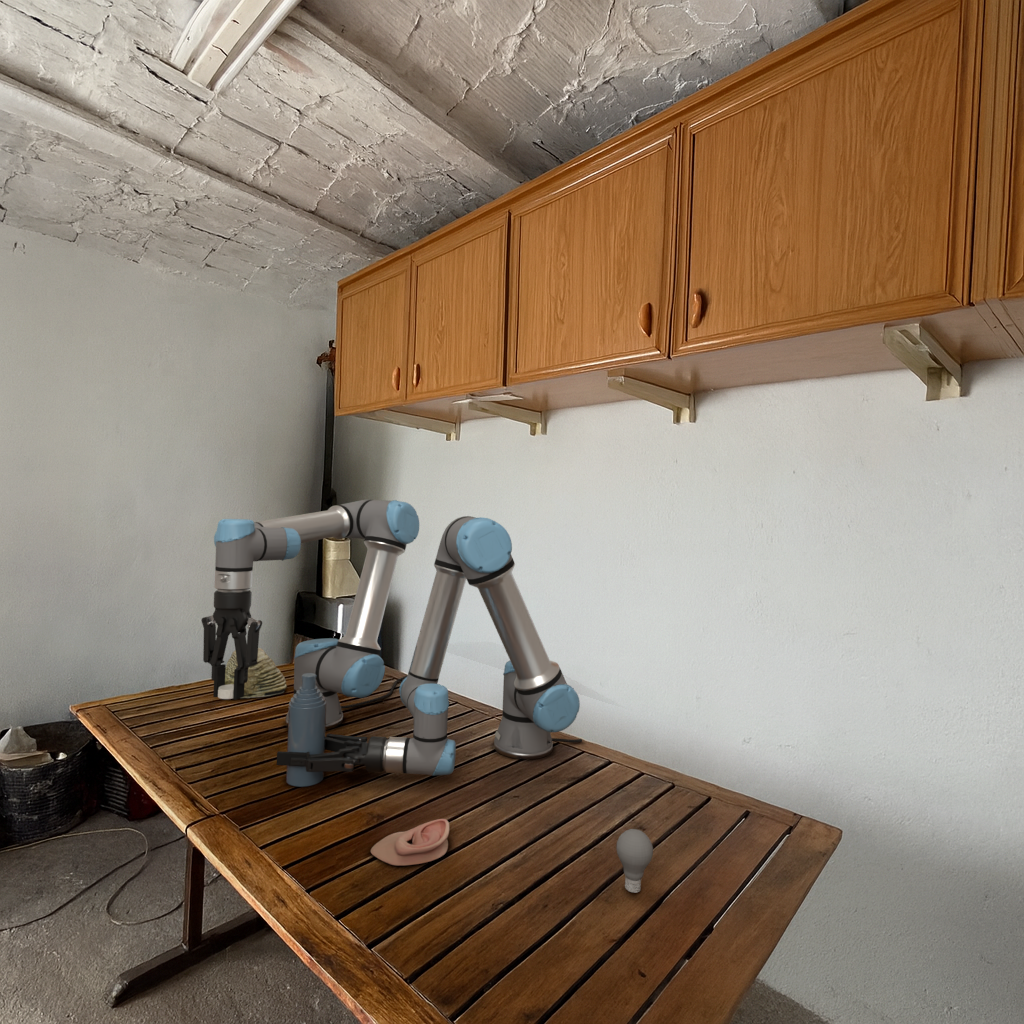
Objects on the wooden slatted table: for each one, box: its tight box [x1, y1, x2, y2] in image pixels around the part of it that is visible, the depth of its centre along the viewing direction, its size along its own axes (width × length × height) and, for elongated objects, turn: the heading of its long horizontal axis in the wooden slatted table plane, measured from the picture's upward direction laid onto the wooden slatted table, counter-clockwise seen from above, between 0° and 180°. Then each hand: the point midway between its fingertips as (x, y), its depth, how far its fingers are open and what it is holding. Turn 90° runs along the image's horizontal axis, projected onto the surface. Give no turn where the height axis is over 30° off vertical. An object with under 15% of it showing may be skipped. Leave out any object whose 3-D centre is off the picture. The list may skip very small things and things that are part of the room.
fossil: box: [225, 647, 288, 699], centre depth 198 cm, size 9×18×15 cm, turn 132°
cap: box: [217, 684, 234, 700], centre depth 138 cm, size 4×4×2 cm
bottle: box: [285, 673, 326, 788], centre depth 142 cm, size 8×8×23 cm
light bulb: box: [615, 828, 654, 894], centre depth 106 cm, size 6×6×10 cm
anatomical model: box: [370, 818, 450, 867], centre depth 115 cm, size 13×4×12 cm
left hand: (228, 696), depth 138 cm, fingers closed on cap, 4 cm apart
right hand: (284, 750), depth 142 cm, fingers closed on bottle, 8 cm apart
